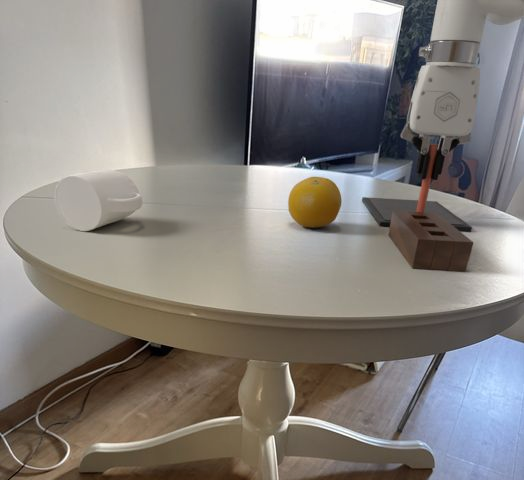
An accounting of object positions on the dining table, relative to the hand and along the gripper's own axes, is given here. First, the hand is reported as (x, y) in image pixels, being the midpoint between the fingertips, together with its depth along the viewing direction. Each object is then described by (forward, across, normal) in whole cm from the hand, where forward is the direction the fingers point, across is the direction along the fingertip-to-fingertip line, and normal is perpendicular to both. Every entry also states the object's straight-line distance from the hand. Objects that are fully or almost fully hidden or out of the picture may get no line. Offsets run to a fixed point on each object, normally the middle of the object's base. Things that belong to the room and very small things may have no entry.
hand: (427, 177), depth 85 cm
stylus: (+7, 0, 0) cm, 7 cm away
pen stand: (+8, -4, -19) cm, 21 cm away
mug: (+8, -53, -16) cm, 56 cm away
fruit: (+8, -20, -8) cm, 23 cm away
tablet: (+8, 0, +6) cm, 10 cm away
